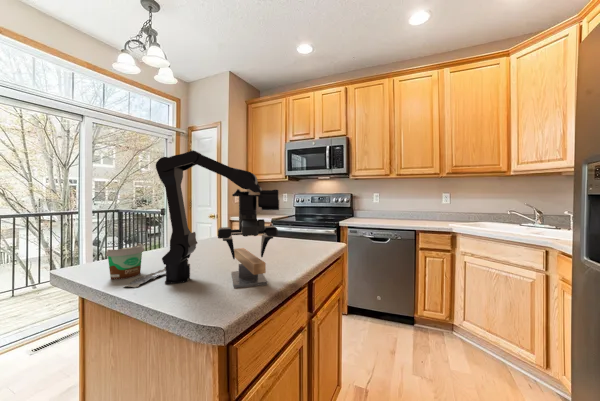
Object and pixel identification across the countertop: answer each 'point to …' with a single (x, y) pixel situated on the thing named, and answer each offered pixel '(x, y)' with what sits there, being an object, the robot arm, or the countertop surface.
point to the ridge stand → (247, 278)
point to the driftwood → (144, 279)
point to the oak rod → (250, 261)
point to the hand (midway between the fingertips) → (248, 258)
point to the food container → (125, 262)
